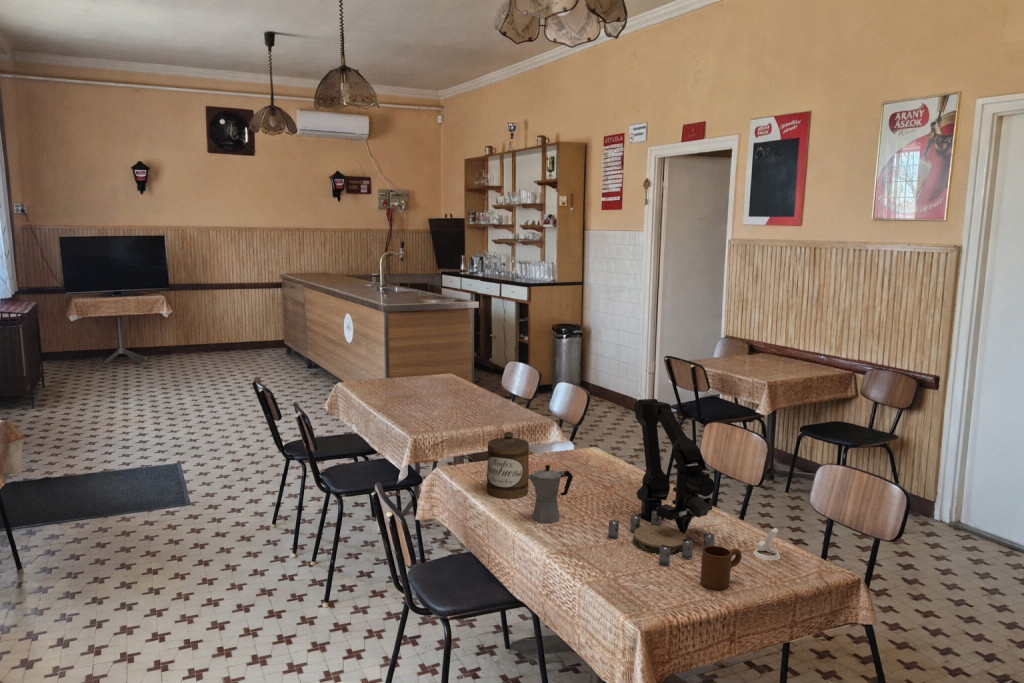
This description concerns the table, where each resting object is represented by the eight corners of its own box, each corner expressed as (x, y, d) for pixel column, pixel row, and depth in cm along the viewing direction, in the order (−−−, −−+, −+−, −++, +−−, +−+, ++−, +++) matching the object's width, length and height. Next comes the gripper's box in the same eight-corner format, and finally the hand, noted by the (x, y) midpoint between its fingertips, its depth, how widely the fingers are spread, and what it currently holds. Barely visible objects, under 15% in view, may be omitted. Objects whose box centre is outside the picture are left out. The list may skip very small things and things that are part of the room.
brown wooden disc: (693, 542, 232) (694, 532, 232) (676, 560, 219) (677, 550, 218) (644, 530, 240) (644, 521, 240) (625, 547, 227) (625, 538, 226)
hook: (779, 553, 212) (762, 533, 216) (762, 574, 221) (745, 555, 224) (797, 542, 216) (779, 523, 220) (779, 564, 224) (762, 545, 228)
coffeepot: (531, 525, 241) (533, 470, 239) (522, 515, 250) (523, 462, 248) (576, 521, 246) (578, 467, 243) (565, 511, 255) (567, 459, 252)
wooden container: (480, 495, 267) (482, 435, 264) (494, 483, 281) (496, 425, 278) (520, 501, 263) (522, 439, 260) (533, 488, 277) (535, 429, 274)
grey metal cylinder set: (606, 536, 234) (606, 520, 233) (656, 523, 246) (656, 508, 245) (664, 567, 214) (665, 550, 213) (715, 551, 225) (716, 535, 224)
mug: (729, 573, 211) (732, 541, 209) (748, 585, 204) (751, 552, 202) (694, 580, 206) (696, 547, 204) (712, 592, 199) (714, 558, 198)
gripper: (683, 499, 221) (680, 550, 223) (727, 488, 231) (723, 537, 233) (656, 487, 230) (653, 537, 232) (699, 478, 240) (696, 525, 242)
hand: (682, 534), depth 235 cm, fingers closed
